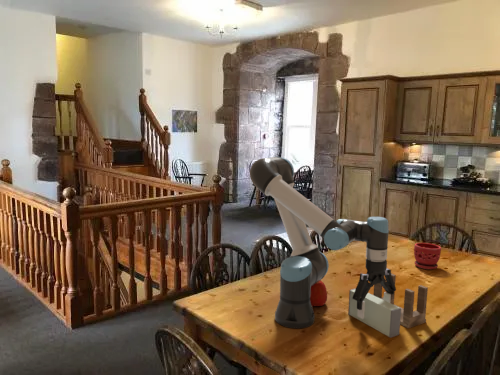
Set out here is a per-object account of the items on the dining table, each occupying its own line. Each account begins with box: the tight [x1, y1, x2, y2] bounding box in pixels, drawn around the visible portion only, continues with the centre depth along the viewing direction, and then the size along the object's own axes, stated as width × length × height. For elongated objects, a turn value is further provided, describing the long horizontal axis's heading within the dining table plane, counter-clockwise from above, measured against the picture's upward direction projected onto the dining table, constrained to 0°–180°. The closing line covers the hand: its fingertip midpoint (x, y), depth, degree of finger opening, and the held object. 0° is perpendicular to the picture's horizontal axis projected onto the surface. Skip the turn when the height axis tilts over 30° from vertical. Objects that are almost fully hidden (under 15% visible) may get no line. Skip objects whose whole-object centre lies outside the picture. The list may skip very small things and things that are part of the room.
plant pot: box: [413, 242, 442, 270], centre depth 219 cm, size 13×13×12 cm
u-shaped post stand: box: [372, 272, 429, 329], centre depth 160 cm, size 10×18×14 cm, turn 30°
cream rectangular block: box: [347, 288, 402, 338], centre depth 154 cm, size 4×21×10 cm, turn 30°
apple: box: [310, 279, 328, 307], centre depth 171 cm, size 11×11×11 cm
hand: (373, 313), depth 153 cm, fingers open, 13 cm apart
